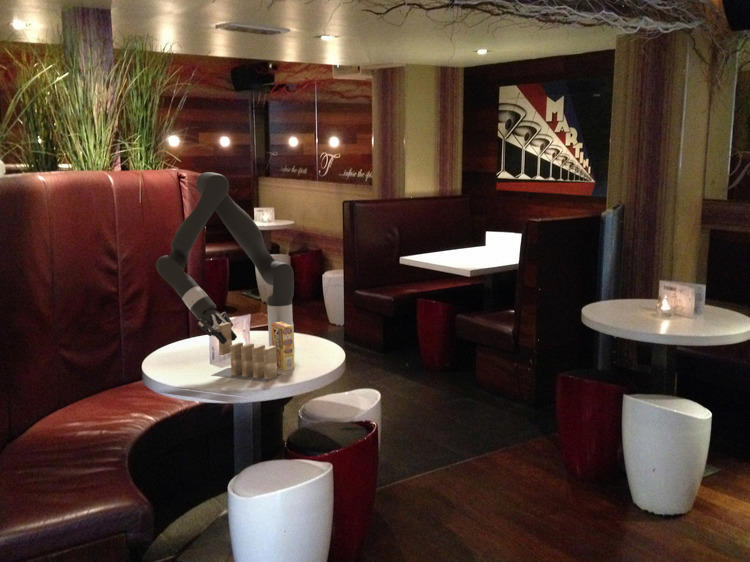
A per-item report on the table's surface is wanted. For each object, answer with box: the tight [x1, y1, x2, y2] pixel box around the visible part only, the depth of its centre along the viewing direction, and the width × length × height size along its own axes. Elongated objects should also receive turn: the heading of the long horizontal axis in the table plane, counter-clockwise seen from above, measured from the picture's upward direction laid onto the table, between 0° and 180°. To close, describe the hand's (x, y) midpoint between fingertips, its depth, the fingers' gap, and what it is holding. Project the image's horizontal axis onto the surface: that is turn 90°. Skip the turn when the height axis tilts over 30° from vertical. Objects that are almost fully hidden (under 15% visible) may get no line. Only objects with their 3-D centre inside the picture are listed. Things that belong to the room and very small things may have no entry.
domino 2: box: [229, 342, 244, 376], centre depth 238 cm, size 2×5×10 cm, turn 156°
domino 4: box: [252, 344, 266, 378], centre depth 235 cm, size 2×5×10 cm, turn 156°
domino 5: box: [263, 346, 278, 380], centre depth 233 cm, size 2×5×10 cm, turn 156°
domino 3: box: [241, 343, 255, 377], centre depth 237 cm, size 2×5×10 cm, turn 156°
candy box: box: [271, 322, 295, 371], centre depth 246 cm, size 9×4×15 cm, turn 33°
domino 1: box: [218, 322, 233, 356], centre depth 239 cm, size 2×5×10 cm, turn 156°
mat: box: [210, 367, 284, 383], centre depth 238 cm, size 10×22×1 cm, turn 66°
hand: (230, 340), depth 238 cm, fingers closed on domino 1, 5 cm apart
